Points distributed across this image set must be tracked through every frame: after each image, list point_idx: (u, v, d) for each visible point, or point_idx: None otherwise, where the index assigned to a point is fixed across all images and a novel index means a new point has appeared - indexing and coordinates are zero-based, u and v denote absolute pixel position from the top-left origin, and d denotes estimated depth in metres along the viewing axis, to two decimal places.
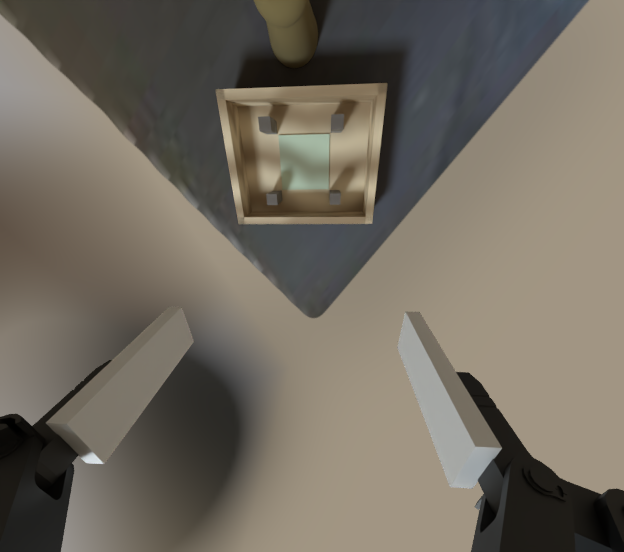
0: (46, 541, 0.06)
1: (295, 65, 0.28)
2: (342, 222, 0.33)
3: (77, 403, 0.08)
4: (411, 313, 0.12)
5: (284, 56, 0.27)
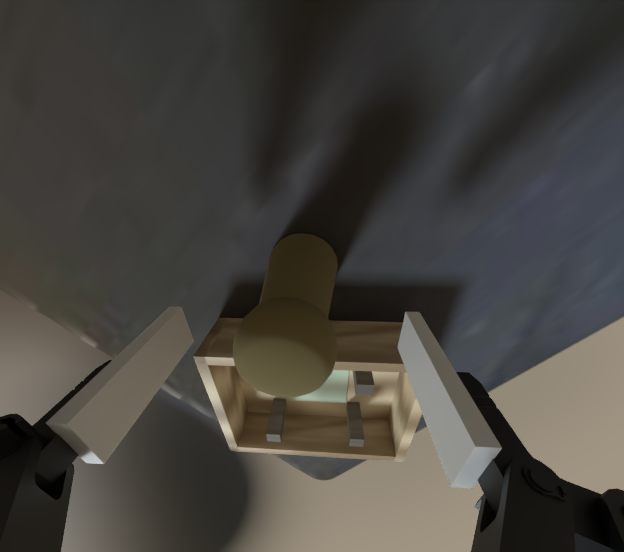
0: (46, 541, 0.06)
1: None
2: (364, 458, 0.25)
3: (77, 403, 0.08)
4: (411, 313, 0.12)
5: None
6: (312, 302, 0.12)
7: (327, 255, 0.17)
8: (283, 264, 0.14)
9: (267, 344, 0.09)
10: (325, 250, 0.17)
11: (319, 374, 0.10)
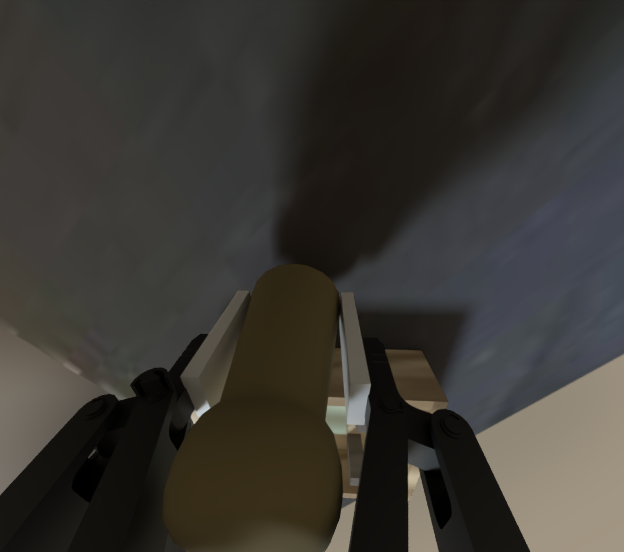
0: None
1: None
2: None
3: (198, 363, 0.09)
4: (345, 293, 0.14)
5: None
6: (303, 393, 0.08)
7: (326, 296, 0.13)
8: (264, 318, 0.10)
9: (213, 525, 0.05)
10: (324, 288, 0.13)
11: None
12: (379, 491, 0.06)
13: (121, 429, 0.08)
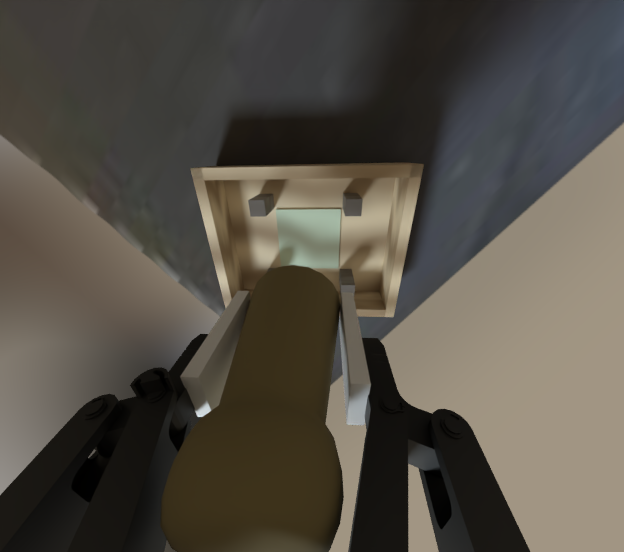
0: None
1: None
2: None
3: (198, 363, 0.09)
4: (345, 293, 0.14)
5: None
6: (303, 396, 0.08)
7: (326, 297, 0.13)
8: (264, 320, 0.10)
9: (211, 532, 0.05)
10: (324, 290, 0.13)
11: None
12: (379, 491, 0.06)
13: (121, 429, 0.08)
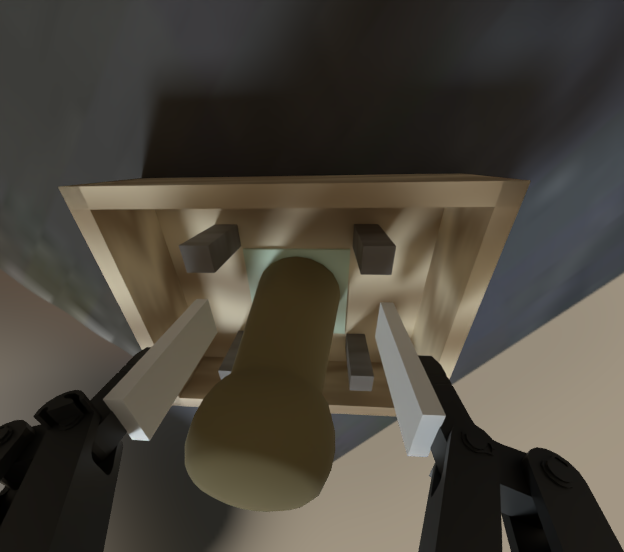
0: (97, 514, 0.07)
1: None
2: (373, 413, 0.16)
3: (128, 383, 0.09)
4: (385, 304, 0.13)
5: None
6: (302, 369, 0.09)
7: (326, 286, 0.14)
8: (269, 305, 0.11)
9: (227, 464, 0.06)
10: (324, 279, 0.14)
11: (307, 496, 0.07)
12: (463, 541, 0.05)
13: (26, 461, 0.07)
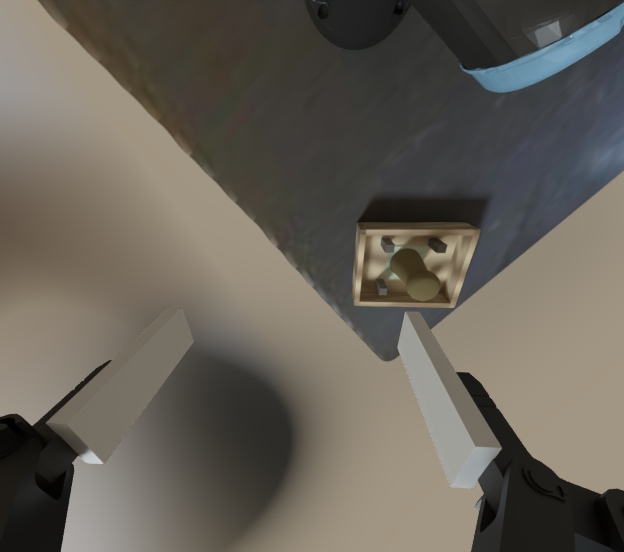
0: (46, 541, 0.06)
1: None
2: (432, 306, 0.45)
3: (77, 403, 0.08)
4: (411, 313, 0.12)
5: None
6: None
7: (420, 257, 0.42)
8: (410, 260, 0.40)
9: (426, 280, 0.34)
10: (419, 255, 0.42)
11: (437, 290, 0.35)
12: None
13: None
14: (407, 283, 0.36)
